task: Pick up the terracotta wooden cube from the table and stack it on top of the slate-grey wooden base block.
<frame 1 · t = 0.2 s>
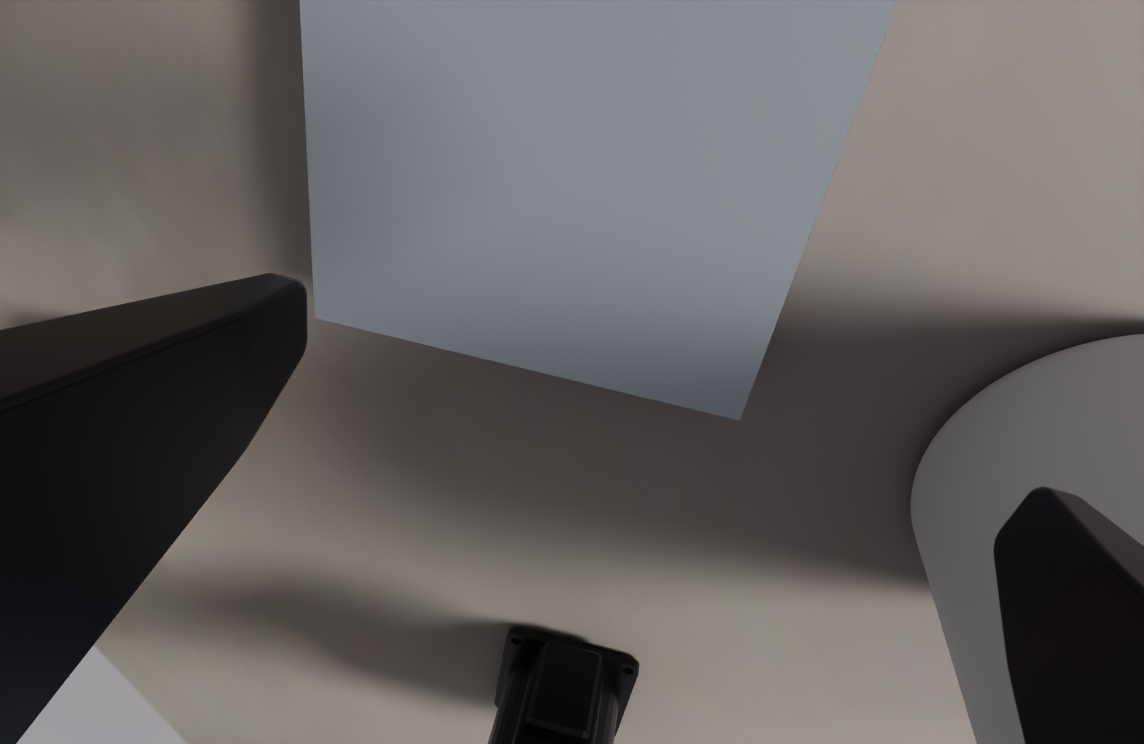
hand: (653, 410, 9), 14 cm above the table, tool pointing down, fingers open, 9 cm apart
cylinder vase: (1099, 477, 25), on the table
slate base: (575, 123, 21), on the table
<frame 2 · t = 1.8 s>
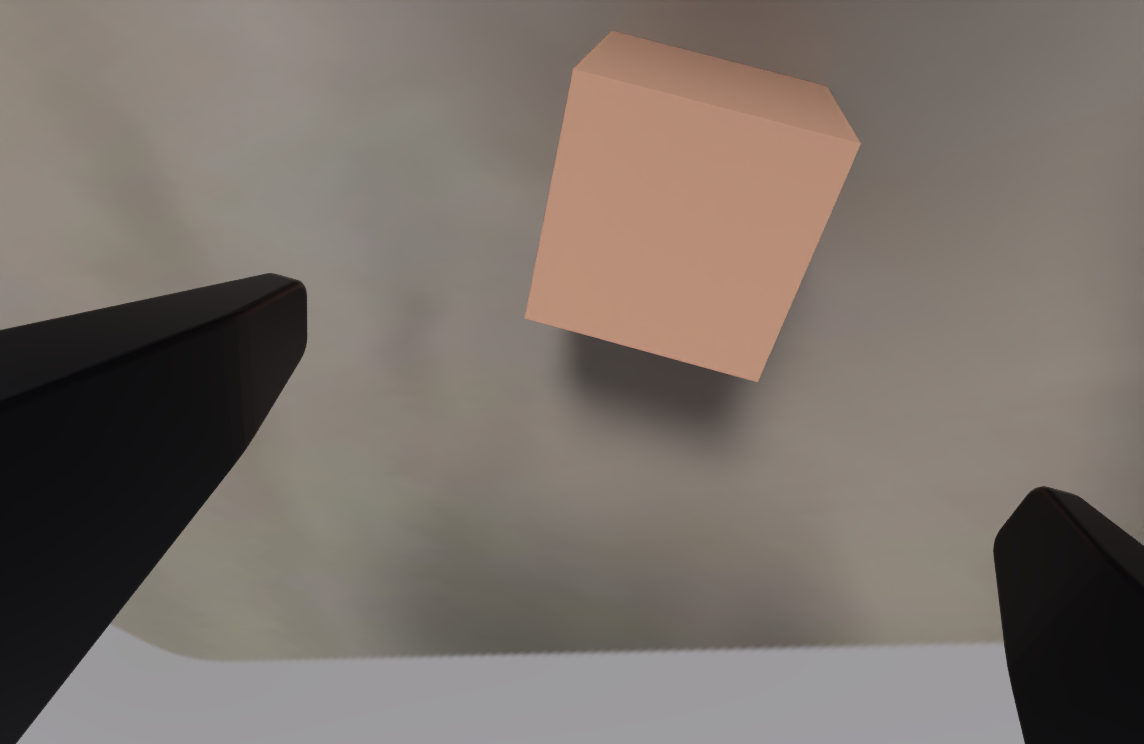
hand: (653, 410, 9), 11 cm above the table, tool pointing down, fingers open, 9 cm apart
terracotta cube: (686, 164, 18), on the table
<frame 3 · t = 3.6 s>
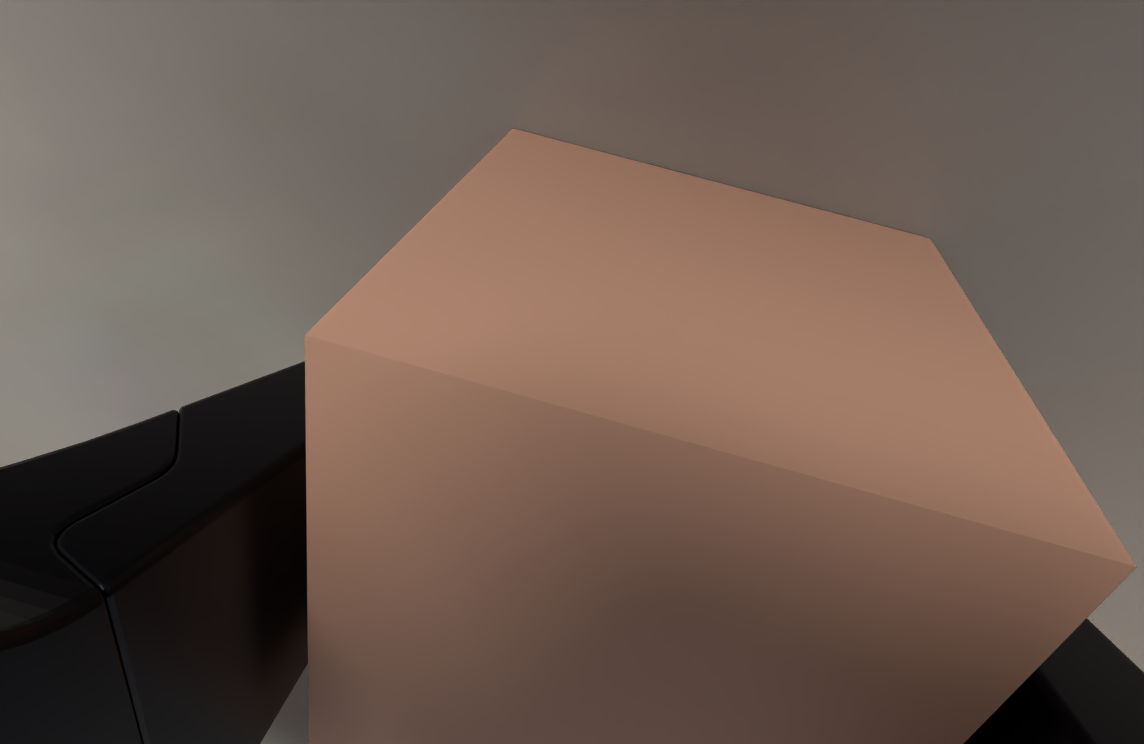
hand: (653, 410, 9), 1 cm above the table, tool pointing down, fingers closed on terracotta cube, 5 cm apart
terracotta cube: (661, 358, 10), on the table, touching gripper
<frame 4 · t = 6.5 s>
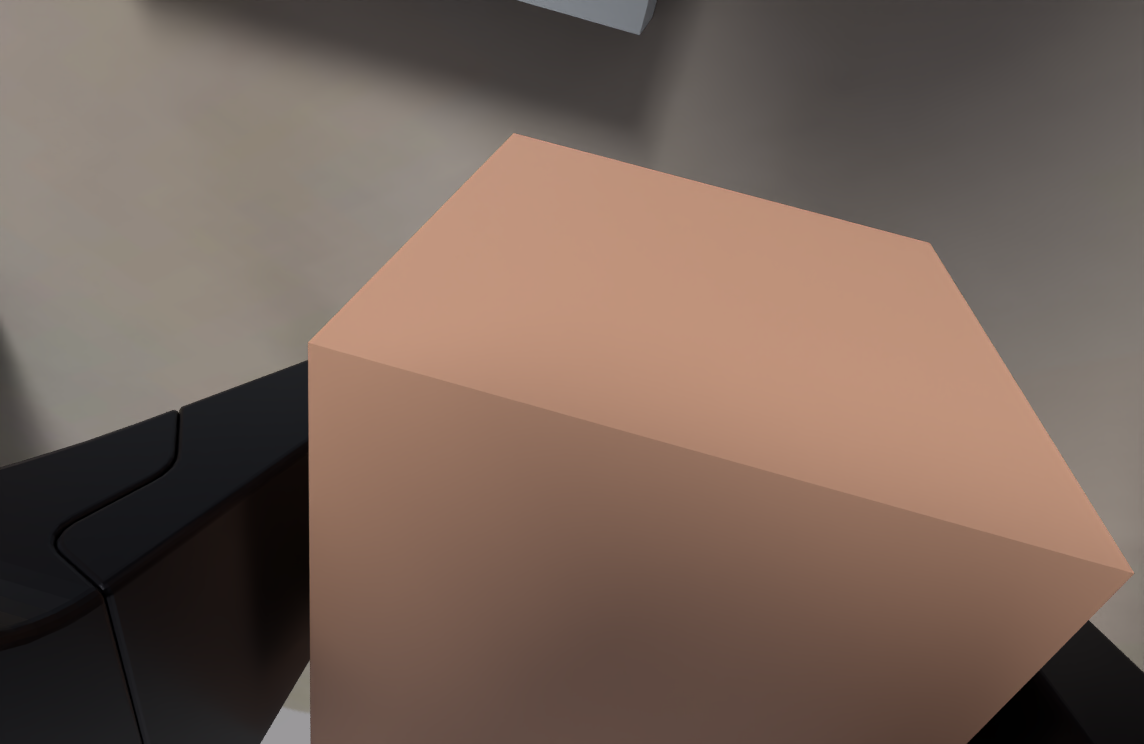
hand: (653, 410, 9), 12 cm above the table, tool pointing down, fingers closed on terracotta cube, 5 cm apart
terracotta cube: (661, 361, 10), point 11 cm above the table, touching gripper
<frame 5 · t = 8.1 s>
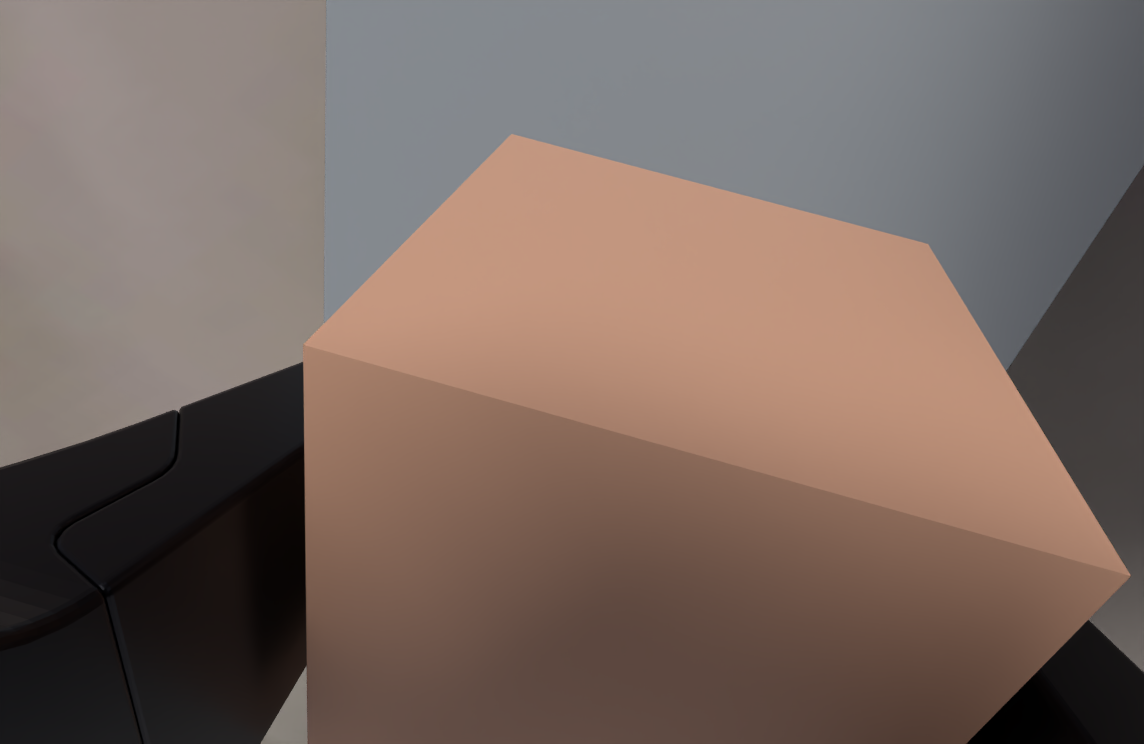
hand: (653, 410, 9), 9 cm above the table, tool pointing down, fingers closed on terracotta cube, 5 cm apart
terracotta cube: (659, 362, 10), point 8 cm above the table, touching gripper
slate base: (682, 180, 16), on the table
when the fingers open (5 cm above the table, at t = 9.5 s): terracotta cube drops 1 cm, resting on slate base.
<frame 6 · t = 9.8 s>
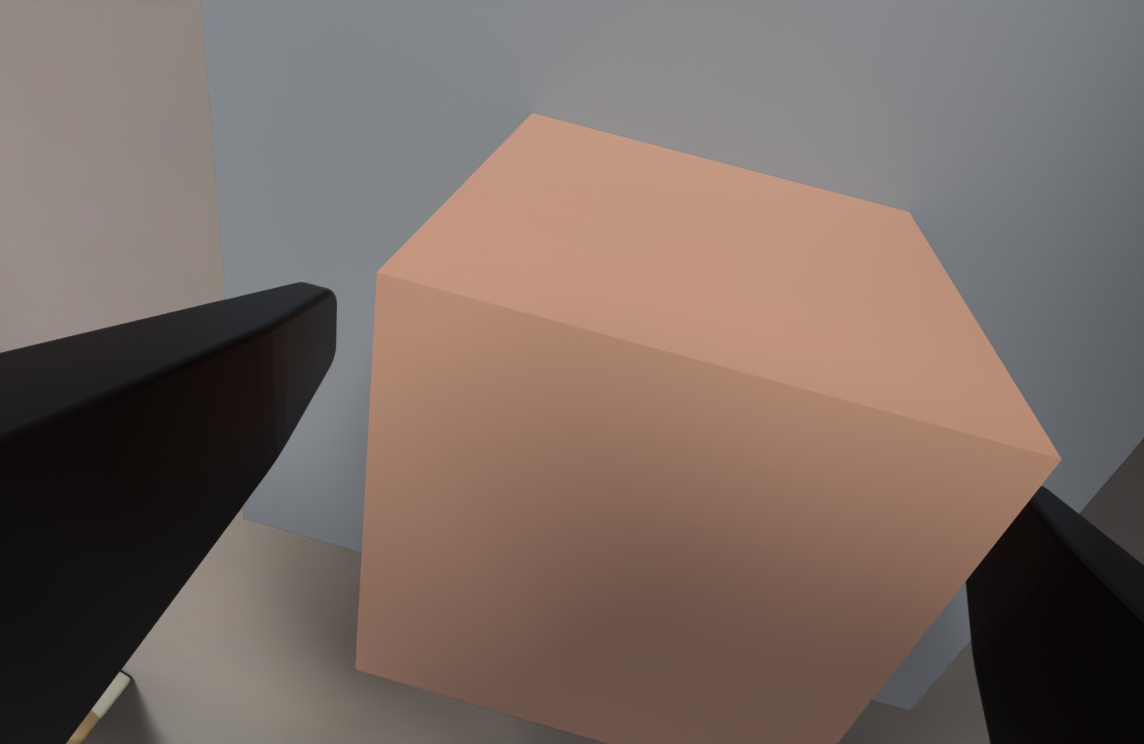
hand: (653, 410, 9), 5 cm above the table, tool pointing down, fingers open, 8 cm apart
terracotta cube: (665, 325, 11), point 3 cm above the table, touching slate base
skincare box: (57, 665, 26), on the table
slate base: (676, 243, 13), on the table
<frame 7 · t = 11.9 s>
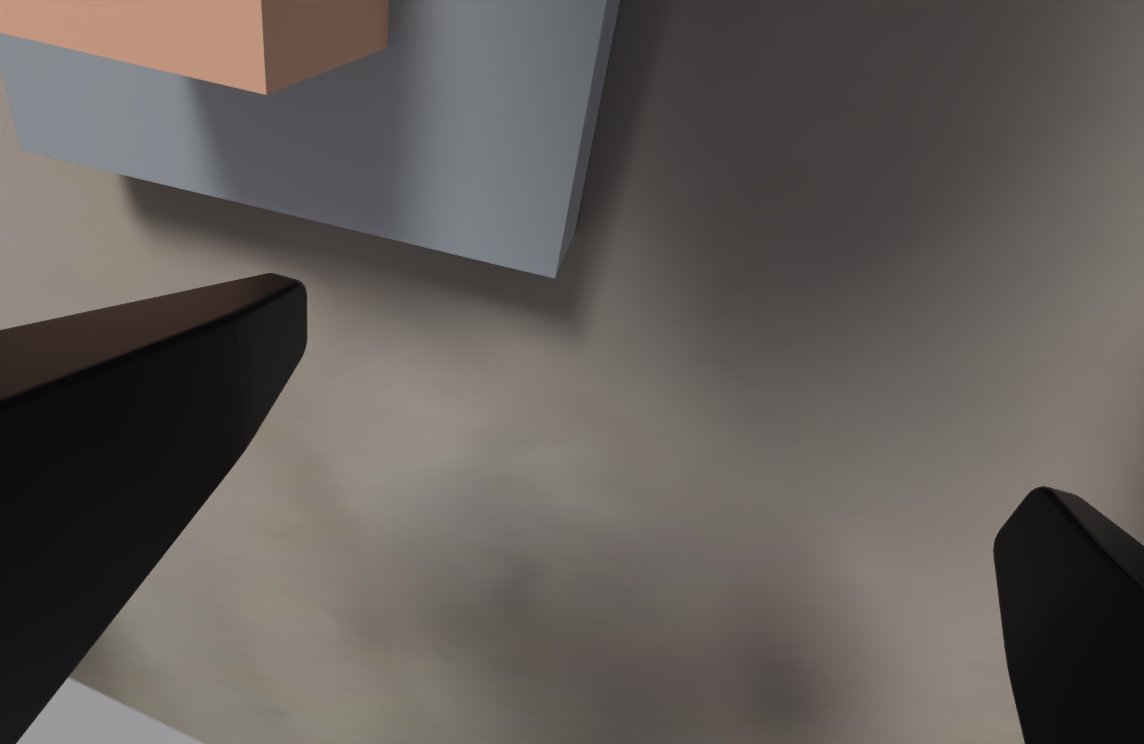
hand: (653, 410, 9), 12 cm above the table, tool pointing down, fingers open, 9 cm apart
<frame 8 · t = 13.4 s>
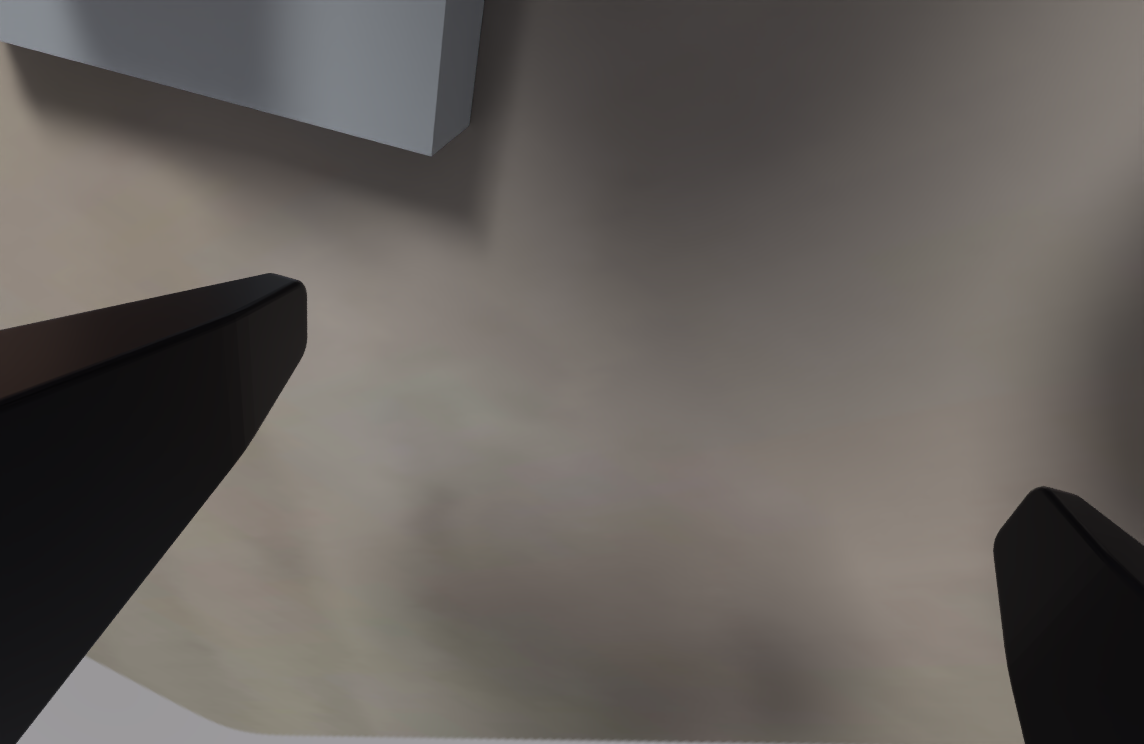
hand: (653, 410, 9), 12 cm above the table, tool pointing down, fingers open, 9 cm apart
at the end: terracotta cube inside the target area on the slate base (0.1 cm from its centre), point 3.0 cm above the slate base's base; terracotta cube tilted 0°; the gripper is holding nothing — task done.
